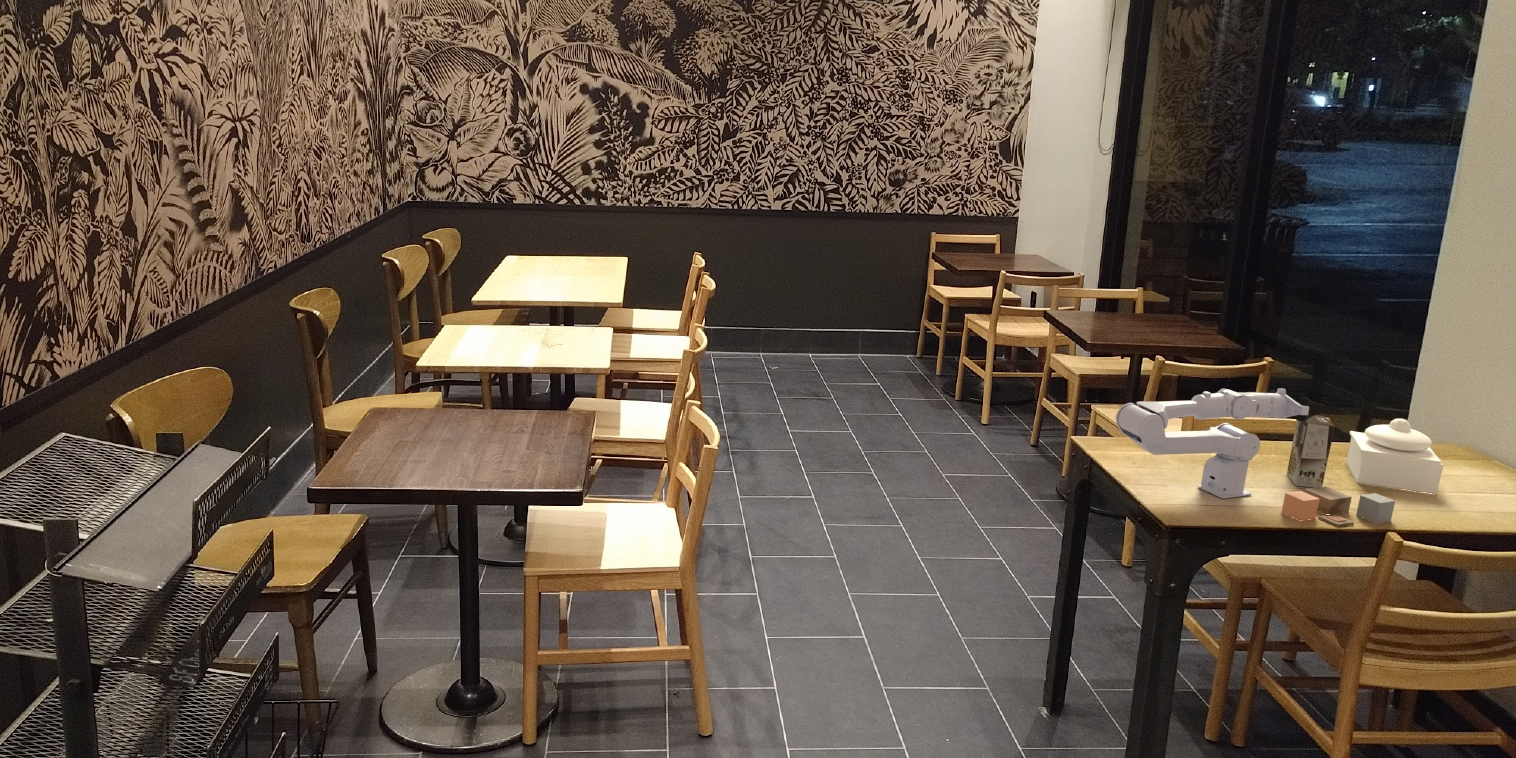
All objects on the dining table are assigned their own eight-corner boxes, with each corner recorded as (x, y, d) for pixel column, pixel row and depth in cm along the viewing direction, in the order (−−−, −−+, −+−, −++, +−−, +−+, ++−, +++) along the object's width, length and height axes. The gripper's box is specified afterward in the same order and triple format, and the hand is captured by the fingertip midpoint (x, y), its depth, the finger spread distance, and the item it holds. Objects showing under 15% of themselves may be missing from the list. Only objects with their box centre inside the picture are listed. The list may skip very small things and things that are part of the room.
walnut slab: (1326, 516, 254) (1330, 499, 253) (1301, 505, 260) (1304, 488, 259) (1348, 513, 257) (1351, 496, 255) (1322, 502, 263) (1325, 486, 262)
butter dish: (1436, 496, 272) (1450, 434, 268) (1354, 483, 277) (1367, 422, 273) (1420, 474, 288) (1433, 415, 284) (1343, 462, 293) (1355, 404, 289)
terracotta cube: (1299, 521, 249) (1303, 500, 247) (1281, 513, 253) (1285, 492, 252) (1315, 519, 251) (1319, 498, 249) (1296, 511, 255) (1301, 490, 254)
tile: (1337, 527, 247) (1338, 523, 247) (1318, 518, 251) (1319, 515, 251) (1353, 524, 249) (1354, 521, 249) (1334, 516, 253) (1334, 512, 253)
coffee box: (1323, 489, 271) (1336, 426, 267) (1294, 486, 272) (1307, 422, 268) (1312, 477, 280) (1325, 415, 275) (1285, 473, 281) (1297, 412, 276)
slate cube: (1375, 523, 250) (1380, 503, 249) (1356, 515, 255) (1360, 495, 253) (1390, 521, 252) (1395, 500, 251) (1370, 513, 257) (1375, 493, 256)
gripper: (1289, 393, 254) (1335, 394, 259) (1243, 383, 268) (1288, 385, 272) (1285, 423, 255) (1331, 424, 259) (1239, 412, 269) (1284, 413, 273)
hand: (1309, 406), depth 266 cm, fingers open, 7 cm apart
